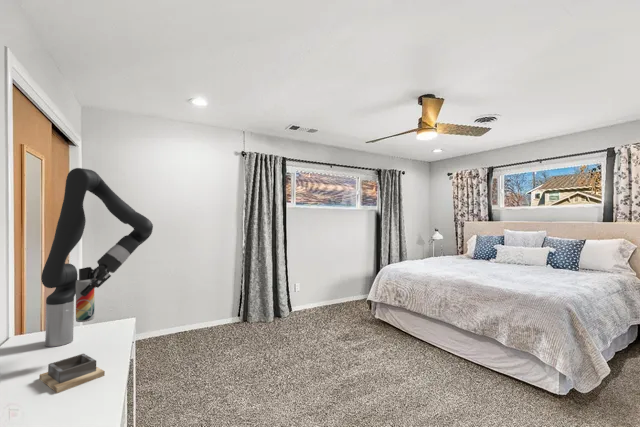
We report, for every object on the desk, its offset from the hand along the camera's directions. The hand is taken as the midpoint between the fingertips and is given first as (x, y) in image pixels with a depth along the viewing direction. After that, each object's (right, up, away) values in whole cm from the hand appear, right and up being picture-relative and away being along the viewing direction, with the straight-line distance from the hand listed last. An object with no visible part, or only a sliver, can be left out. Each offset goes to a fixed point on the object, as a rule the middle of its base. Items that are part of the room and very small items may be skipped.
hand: (79, 293), depth 119 cm
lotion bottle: (+1, -10, +1) cm, 11 cm away
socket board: (+7, -25, -12) cm, 29 cm away
